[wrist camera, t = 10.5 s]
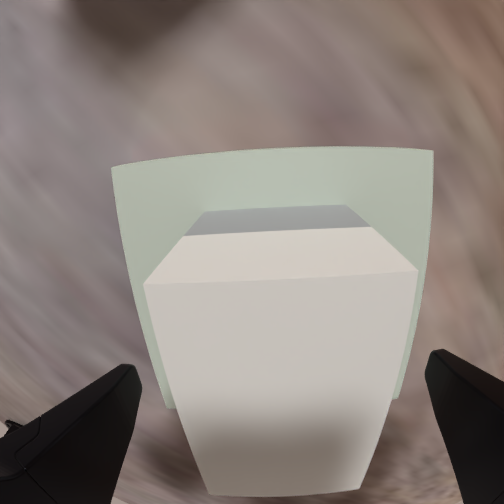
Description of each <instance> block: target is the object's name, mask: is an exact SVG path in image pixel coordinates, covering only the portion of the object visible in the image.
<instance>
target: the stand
mask: <svg viewBox="0 0 504 504" xmlns="http://www.w3.org/2000/svg"><path fill="white" fill-rule="evenodd" d="M111 172H112V180H113V187H114V195H115V201H116V208H117V214H118V220H119V226H120V232H121V237H122V243H123V248H124V253H125V258H126V263H127V268H128V273H129V277H130V282H131V286H132V290H133V295H134V299H135V303H136V307H137V311H138V315H139V319H140V322H141V326H142V330H143V334H144V337H145V341H146V344H147V348H148V351H149V355H150V358H151V361H152V364H153V368H154V371H155V374H156V377H157V380H158V383H159V386H160V389H161V392H162V395H163V398H164V401H165V404H166V407H167V408H170V409H177V408H176V405H175V402H174V399H173V396H172V393H171V389H170V386H169V383H168V380H167V376H166V373H165V369H164V366H163V362H162V359H161V355H160V352H159V348H158V344H157V341H156V337H155V333H154V329H153V325H152V321H151V317H150V313H149V309H148V304H147V300H146V296H145V291H144V286H143V283H144V282H145V281H146V280H147V278H148V277H149V276H150V275H151V274H152V272H153V271H154V270H155V269H156V268H157V266H158V265H159V264H160V263H161V262H162V260H163V259H164V258H165V257H166V256H167V254H168V253H169V252H170V251H171V250H172V249H173V247H174V246H175V245H176V244H177V243H178V241H179V240H180V239H181V238H182V237H183V236H184V234H185V233H186V232H187V231H188V230H189V229H190V228H191V226H192V225H193V224H194V223H195V222H196V221H197V220H198V218H199V217H200V216H201V215H202V214H203V213H204V212H206V211H220V210H236V209H252V208H271V207H291V206H316V205H347V206H348V207H349V208H351V209H352V210H353V211H354V212H355V213H356V214H358V215H359V216H360V217H361V218H362V219H363V220H364V221H366V222H367V223H368V224H369V225H370V226H371V227H372V228H373V229H375V230H376V231H377V232H378V233H379V234H380V235H381V236H382V237H383V238H384V239H386V240H387V241H388V242H389V243H390V244H391V245H392V246H393V247H394V248H395V249H396V250H397V251H398V252H400V253H401V254H402V255H403V256H404V257H405V258H406V259H407V260H408V261H409V262H410V263H411V264H412V265H413V266H414V267H415V268H416V269H417V270H418V278H417V285H416V292H415V298H414V304H413V310H412V315H411V321H410V326H409V331H408V336H407V340H406V345H405V350H404V354H403V358H402V362H401V366H400V370H399V374H398V378H397V382H396V386H395V389H394V393H393V396H392V399H396V398H398V396H399V393H400V389H401V386H402V382H403V379H404V375H405V371H406V368H407V364H408V360H409V356H410V352H411V348H412V343H413V339H414V334H415V330H416V325H417V320H418V315H419V310H420V304H421V298H422V292H423V286H424V280H425V273H426V265H427V257H428V248H429V239H430V228H431V214H432V197H433V151H431V150H422V149H413V148H393V147H353V146H331V147H289V148H268V149H252V150H238V151H226V152H215V153H204V154H195V155H186V156H178V157H170V158H162V159H155V160H148V161H141V162H135V163H129V164H124V165H119V166H115V167H111Z"/></svg>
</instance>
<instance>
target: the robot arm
mask: <svg viewBox="0 0 504 504" xmlns="http://www.w3.org/2000/svg"><path fill="white" fill-rule="evenodd" d="M425 380H426V383H427V387H428V391H429V394H430V398H431V402H432V406H433V410H434V413H435V417H436V420H437V423H438V425H439V428H440V431H441V434H442V436H443V439H444V442H445V445H446V448H447V451H448V454H449V457H450V460H451V463H452V466H453V469H454V472H455V475H456V479H457V482H458V485H459V489H460V492H461V496H462V499H463V503H464V504H504V382H503V381H501V380H499V379H498V378H496V377H494V376H492V375H490V374H489V373H487V372H485V371H483V370H481V369H479V368H478V367H476V366H474V365H472V364H470V363H469V362H467V361H465V360H463V359H461V358H459V357H458V356H456V355H454V354H452V353H450V352H448V351H447V350H445V349H438V350H433V351H432V352H431V353H430V356H429V359H428V363H427V366H426V369H425ZM141 393H142V384H141V381H140V378H139V376H138V373H137V370H136V367H135V366H134V365H132V364H120V365H119V366H117V367H116V368H114V369H113V370H111V371H110V372H108V373H107V374H105V375H103V376H102V377H100V378H99V379H97V380H96V381H94V382H93V383H91V384H90V385H88V386H86V387H85V388H83V389H82V390H80V391H79V392H77V393H76V394H74V395H72V396H71V397H69V398H68V399H66V400H65V401H63V402H61V403H60V404H58V405H57V406H55V407H54V408H52V409H50V410H49V411H47V412H46V413H44V414H42V415H41V417H40V416H39V417H38V418H36V419H34V420H33V421H31V422H29V423H28V424H26V425H24V426H22V425H19V424H17V423H14V422H12V421H9V420H6V421H5V424H6V426H7V427H8V431H7V432H6V434H5V435H4V437H2V438H0V504H111V500H112V497H113V493H114V490H115V487H116V484H117V480H118V477H119V474H120V471H121V467H122V464H123V461H124V458H125V455H126V452H127V449H128V446H129V443H130V440H131V437H132V433H133V430H134V426H135V421H136V416H137V411H138V407H139V402H140V397H141Z"/></svg>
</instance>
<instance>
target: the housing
mask: <svg viewBox="0 0 504 504" xmlns="http://www.w3.org/2000/svg"><path fill="white" fill-rule="evenodd" d="M417 278H418V270H417V269H416V268H415V267H414V266H413V265H412V264H411V263H410V262H409V261H408V260H407V259H406V258H405V257H404V256H403V255H402V254H401V253H400V252H398V251H397V250H396V249H395V248H394V247H393V246H392V245H391V244H390V243H389V242H388V241H387V240H386V239H384V238H383V237H382V236H381V235H380V234H379V233H378V232H377V231H376V230H375V229H373V228H372V227H371V226H370V225H369V224H368V223H367V222H366V221H364V220H363V219H362V218H361V217H360V216H359V215H358V214H356V213H355V212H354V211H353V210H352V209H351V208H349V207H348V206H347V205H316V206H291V207H271V208H252V209H236V210H220V211H206V212H204V213H203V214H202V215H201V216H200V217H199V218H198V220H197V221H196V222H195V223H194V224H193V225H192V226H191V228H190V229H189V230H188V231H187V232H186V233H185V234H184V236H183V237H182V238H181V239H180V240H179V241H178V243H177V244H176V245H175V246H174V247H173V249H172V250H171V251H170V252H169V253H168V254H167V256H166V257H165V258H164V259H163V260H162V262H161V263H160V264H159V265H158V266H157V268H156V269H155V270H154V271H153V272H152V274H151V275H150V276H149V277H148V278H147V280H146V281H145V282H144V283H143V286H144V291H145V296H146V300H147V304H148V309H149V313H150V317H151V321H152V325H153V329H154V333H155V337H156V341H157V344H158V348H159V352H160V355H161V359H162V362H163V366H164V369H165V373H166V376H167V380H168V383H169V386H170V389H171V393H172V396H173V399H174V402H175V405H176V408H177V411H178V414H179V417H180V420H181V423H182V426H183V429H184V431H185V434H186V437H187V440H188V443H189V445H190V448H191V451H192V453H193V456H194V458H195V461H196V464H197V466H198V469H199V471H200V474H201V476H202V479H203V481H204V483H205V486H206V488H207V490H208V493H209V495H218V496H237V497H283V496H302V495H315V494H325V493H334V492H342V491H349V490H355V489H359V488H360V486H361V484H362V481H363V479H364V476H365V474H366V472H367V469H368V467H369V464H370V461H371V459H372V456H373V454H374V451H375V448H376V445H377V443H378V440H379V437H380V434H381V431H382V428H383V425H384V422H385V419H386V416H387V413H388V410H389V406H390V403H391V400H392V396H393V393H394V389H395V386H396V382H397V378H398V374H399V370H400V366H401V362H402V358H403V354H404V350H405V345H406V340H407V336H408V331H409V326H410V321H411V315H412V310H413V304H414V298H415V292H416V285H417Z"/></svg>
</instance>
